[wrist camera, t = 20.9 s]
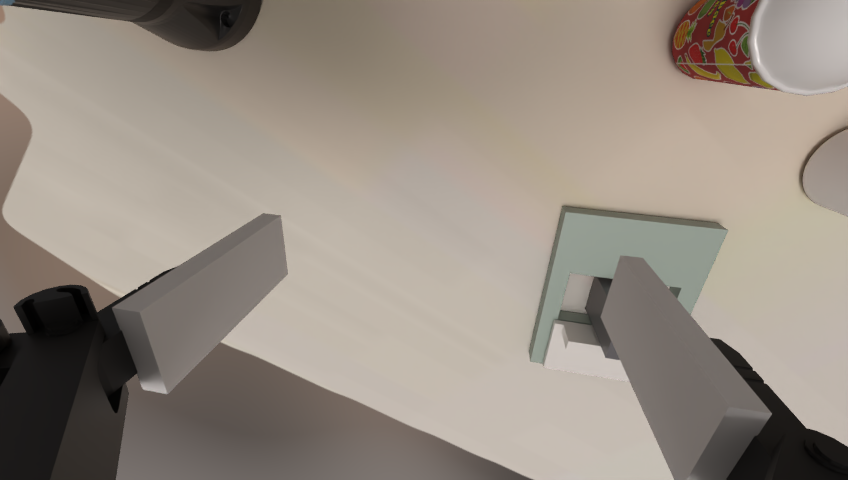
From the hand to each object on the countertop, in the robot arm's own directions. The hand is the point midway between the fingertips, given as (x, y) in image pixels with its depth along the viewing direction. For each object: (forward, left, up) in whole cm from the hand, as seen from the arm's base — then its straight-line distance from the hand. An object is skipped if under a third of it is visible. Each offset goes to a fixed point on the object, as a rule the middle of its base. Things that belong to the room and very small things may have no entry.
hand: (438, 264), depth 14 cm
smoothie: (-11, +20, -29) cm, 36 cm away
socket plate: (+16, +19, -28) cm, 38 cm away
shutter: (+23, +19, -26) cm, 39 cm away
